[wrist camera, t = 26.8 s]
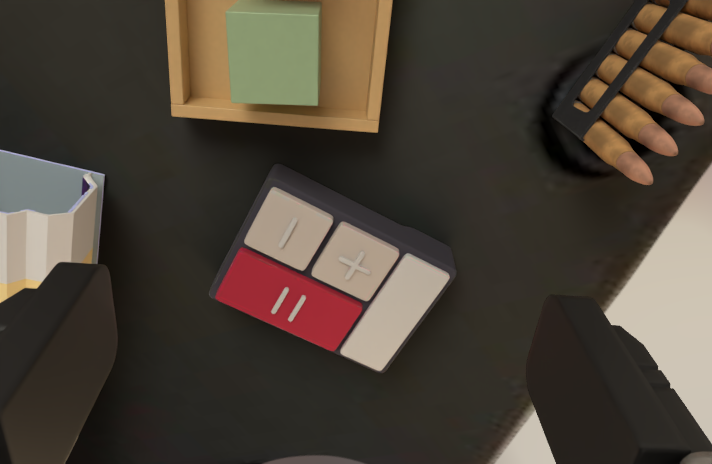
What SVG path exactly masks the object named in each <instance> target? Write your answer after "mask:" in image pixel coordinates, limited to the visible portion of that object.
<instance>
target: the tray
mask: <svg viewBox="0 0 712 464" xmlns="http://www.w3.org/2000/svg"><path fill="white" fill-rule="evenodd" d="M237 1H238V0H165V11H166V27H167V44H168V60H169V77H170V93H171V103H172V104H171V112H172V116H174V117H186V118H199V119H211V120H224V121H236V122H248V123H261V124H273V125H286V126H298V127H311V128H323V129H336V130H348V131H360V132H373V133H378V127H379V118H380V109H381V100H382V92H383V83H384V74H385V65H386V56H387V48H388V39H389V30H390V21H391V12H392V4H393V0H282V1H308V2H321V3H322V27H321V86H320V94H319V103H318V106H306V105H275V104H245V103H231V93H230V78H229V62H228V46H227V30H226V15H225V12H226V11H227V10H228V9H229V8H230V7H231V6H233V5H234V4H235V3H236V2H237Z"/></svg>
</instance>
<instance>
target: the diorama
mask: <svg viewBox="0 0 712 464" xmlns="http://www.w3.org/2000/svg"><path fill="white" fill-rule="evenodd" d="M104 180H105V174H101V173H97V172H93V171H89V170H84V169H80V168H76V167H72V166H68V165H63V164H59V163H55V162H51V161H46V160H42V159H38V158H34V157H29V156H25V155H21V154H17V153H12V152H8V151H4V150H0V303H1V302H3V301H4V300H6V299H8V298H9V297H11V296H12V295H14V294H16V293H17V292H19V291H21V290H22V289H24V288H35V289H37V288H38V287H39V285H40V284H41V283H42V282H43V280H44V279H45V278H46V277H47V275H48V274H49V273H50V272H51V270H52V269H53V268H54V267H55V265H56V264H58V263H59V262H73V263H88V264H97V263H98V251H99V239H100V227H101V215H102V204H103V192H104ZM77 438H78V437H77ZM76 440H77V439H76ZM75 442H76V441H75ZM74 444H75V443H74ZM73 446H74V445H73ZM72 448H73V447H72ZM71 450H72V449H71ZM70 452H71V451H70ZM69 454H70V453H69ZM68 456H69V455H68ZM67 458H68V457H67ZM66 460H67V459H66ZM65 462H66V461H65ZM64 464H65V463H64Z"/></svg>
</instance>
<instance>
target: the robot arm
mask: <svg viewBox="0 0 712 464" xmlns="http://www.w3.org/2000/svg"><path fill="white" fill-rule="evenodd" d="M117 344H118V333H117V325H116V317H115V309H114V301H113V294H112V286H111V278H110V273H109V270H108V268H107V266H106V265H103V264H88V263H73V262H59V263H58V264H56V265H55V267H54V268H53V269H52V270H51V272H50V273H49V274H48V275H47V277H46V278H45V279H44V280H43V282H42V283H41V284H40V285H39V287H38V288H37V289H35V288H24V289H22V290H21V291H19V292H17V293H16V294H14V295H12V296H11V297H9V298H8V299H6V300H4V301H3V302H1V303H0V464H64V463H65V461H66V459H67V457H68V455H69V453H70V451H71V449H72V447H73V445H74V443H75V441H76V439H77V437H78V435H79V433H80V431H81V429H82V427H83V425H84V423H85V421H86V419H87V417H88V415H89V413H90V411H91V409H92V407H93V405H94V403H95V401H96V399H97V397H98V395H99V393H100V391H101V389H102V387H103V385H104V383H105V381H106V379H107V377H108V375H109V373H110V371H111V369H112V367H113V364H114V361H115V357H116V352H117ZM526 382H527V388H528V391H529V394H530V397H531V400H532V402H533V405H534V407H535V410H536V413H537V415H538V417H539V420H540V423H541V426H542V428H543V431H544V433H545V436H546V438H547V441H548V444H549V446H550V449H551V451H552V454H553V457H554V459H555V462H556V464H712V444H711V442H710V441H709V440H708V438H707V436H706V435H705V434H704V432H703V431H702V429H701V428H700V426H699V425H698V423H697V422H696V421H695V419H694V418H693V416H692V415H691V413H690V412H689V411H688V409H687V407H686V406H685V404H684V403H683V402H682V400H681V399H680V397H679V396H678V394H677V393H676V392H675V390H674V389H671V388H670V383H669V381H668V380H667V379H666V377H665V376H664V374H663V373H662V371H661V370H658V365H657V364H656V362H655V361H654V360H653V358H652V357H651V355H650V354H649V352H648V351H647V349H646V348H645V347H644V345H643V344H642V343H640V342H639V341H638V340H637V339H636V338H634V337H633V336H632V335H630V334H629V333H628V332H627V331H625V330H624V329H623V328H622V327H621V326H616V325H611V324H610V322H609V321H608V319H607V318H606V316H605V314H604V313H603V311H602V310H601V308H600V307H599V305H598V304H597V302H596V301H595V300H594V299H593V298H591V297H582V296H566V295H549V296H548V297H547V298H546V300H545V302H544V305H543V308H542V311H541V315H540V318H539V321H538V325H537V328H536V331H535V335H534V338H533V341H532V345H531V348H530V351H529V355H528V359H527V364H526Z"/></svg>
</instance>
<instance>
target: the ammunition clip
mask: <svg viewBox="0 0 712 464" xmlns="http://www.w3.org/2000/svg"><path fill="white" fill-rule="evenodd" d="M681 12H683V13H681ZM684 13H686V14H684ZM687 14H689V15H687ZM690 15H691V16H690ZM708 20H710V21H712V0H636V1H635V2H634V3H633V5H632V6H631V8H630V9H629V10H628V12H627V13H626V14H625V16H624V17H623V19H622V20H621V21H620V23H619V24H618V25H617V27H616V28H615V30H614V31H613V32H612V34H611V35H610V36H609V38H608V39H607V41H606V42H605V43H604V45H603V46H602V47H601V49H600V50H599V52H598V53H597V54H596V56H595V57H594V58H593V60H592V61H591V63H590V64H589V65H588V67H587V68H586V70H585V71H584V72H583V74H582V75H581V76H580V78H579V79H578V81H577V82H576V83H575V85H574V86H573V87H572V89H571V90H570V92H569V93H568V94H567V96H566V97H565V98H564V100H563V101H562V103H561V104H560V105H559V107H558V108H557V109H556V111H555V112H554V114H553V115H552V117H553V118H554V119H555V120H556V121H557V122H559V123H560V124H561V125H563V126H564V127H565V128H566V129H568V130H569V131H570V132H571V133H573V134H574V135H575V136H577V137H578V138H579V139H580V140H582V141H583V142H584V143H586V144H587V145H588V146H589V147H590V148H591V149H592V150H593V151H594V152H595V153H596V154H597V155H598V156H599V157H600V158H601V159H602V160H604V161H605V162H606V163H607V164H609V165H612V166H614V167H615V168H616V169H618V170H619V171H621V172H622V173H623V174H624V175H625V176H627V177H628V178H630V179H631V180H633V181H635V182H638V183H641V184H644V185H651V184H652V183H653V176H652V174H651V171H650V169H649V167H648V166H647V165H646V163H645V162H644V161H643V160H642V159H641V158H640V157H639V156H638V155H637V154H636V153H635V152H634V151H633V150H632V148H631V146H630V144H629V143H628V142H627V141H626V140H625V139H624V138H623V137H622V136H621V135H619V134H618V133H619V132H621V133H623V134H624V135H625V136H627V137H628V138H631V139H634V140H636V141H638V142H639V143H641V144H643V145H645V146H646V147H647V148H649V149H651V150H652V151H654V152H657V153H659V154H662V155H666V156H676V155H677V154H678V148H677V145H676V143H675V141H674V140H673V138H672V137H671V136H670V135H669V134H668V133H667V132H666V131H665V130H664V129H662V128H661V127H660V126H659V125H658V124H657V123H656V122H654V121H653V119H652V117H651V116H650V115H649V114H648V113H647V112H646V111H644V110H643V109H641V108H640V107H639V106H640V105H642V106H644V107H645V108H647V109H649V110H651V111H654V112H658V113H661V114H662V115H664V116H667V117H669V118H671V119H672V120H674V121H677V122H679V123H682V124H686V125H691V126H699V125H703V124H704V117H703V115H702V113H701V112H700V110H699V109H698V108H697V107H696V106H695V105H694V104H693V103H692V102H691V101H689V100H688V99H686V98H685V97H683V96H682V95H681V94H679V93H678V92H676V90H675V89H674V88H673V87H672V86H671V85H670V84H669V83H667V82H665V81H663V80H662V78H664V79H666V80H668V81H670V82H673V83H675V84H681V85H685V86H688V87H690V88H693V89H696V90H698V91H701V92H704V93H707V94H712V68H710V67H708V66H707V65H705V64H703V63H701V62H700V61H698V60H697V59H696V58H695V57H694V56H693V55H691V54H689V53H687V52H685V51H684V50H685V49H686V50H688V51H691V52H693V53H696V54H699V55H709V56H712V23H711V22H708ZM658 39H661V40H663V41H666V42H668V43H671V44H673V45H674V46H671V45H669V44H666V43H664V42H662V41H659V40H658ZM638 65H639V66H641V67H643V68H645V69H647V70H649V71H651V72H652V74H651V73H649V72H647V71H645V70H644V69H642V68H640V67H638ZM618 91H620V92H622V93H624V94H625V95H627V96H628V97H630V98H631V101H630V100H628V99H627V98H625V97H624V96H623V95H621V94H620V93H618ZM599 116H601V117H602V118H604V119H605V120H606V121H607V122H609V123H610V125H607V124H606V123H605V122H604V121H603V120H602V119H600V118H599Z"/></svg>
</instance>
